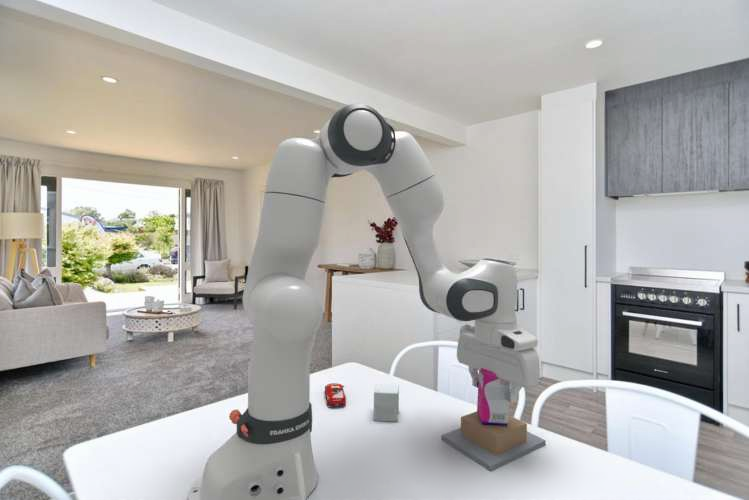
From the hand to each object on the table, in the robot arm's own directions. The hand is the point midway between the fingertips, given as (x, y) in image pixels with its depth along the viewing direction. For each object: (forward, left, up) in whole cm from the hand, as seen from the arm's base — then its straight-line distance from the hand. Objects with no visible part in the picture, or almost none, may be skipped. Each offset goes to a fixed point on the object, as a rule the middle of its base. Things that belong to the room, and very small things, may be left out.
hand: (493, 393), depth 87 cm
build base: (0, 0, -11) cm, 11 cm away
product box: (-13, +23, -11) cm, 29 cm away
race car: (-19, +39, -12) cm, 45 cm away
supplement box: (0, 0, -6) cm, 6 cm away
